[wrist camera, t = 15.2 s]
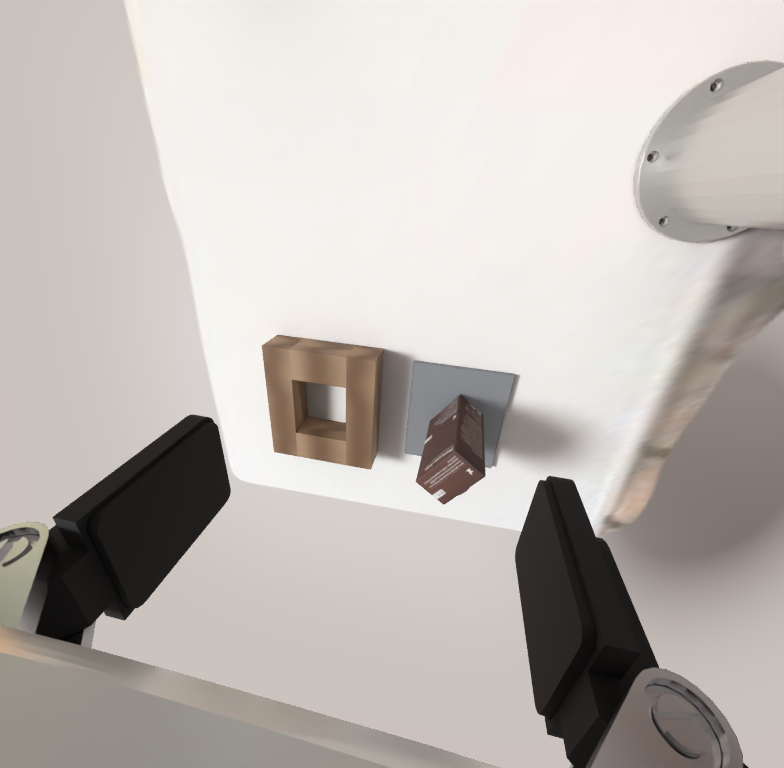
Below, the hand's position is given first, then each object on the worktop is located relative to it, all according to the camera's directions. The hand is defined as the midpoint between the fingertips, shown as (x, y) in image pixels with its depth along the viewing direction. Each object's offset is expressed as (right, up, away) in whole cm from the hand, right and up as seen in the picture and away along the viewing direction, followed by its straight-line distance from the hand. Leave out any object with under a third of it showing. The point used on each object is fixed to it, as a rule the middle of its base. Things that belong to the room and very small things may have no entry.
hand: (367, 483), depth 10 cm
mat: (+9, -1, +36) cm, 37 cm away
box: (+9, -1, +35) cm, 36 cm away
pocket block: (-8, +1, +38) cm, 39 cm away
